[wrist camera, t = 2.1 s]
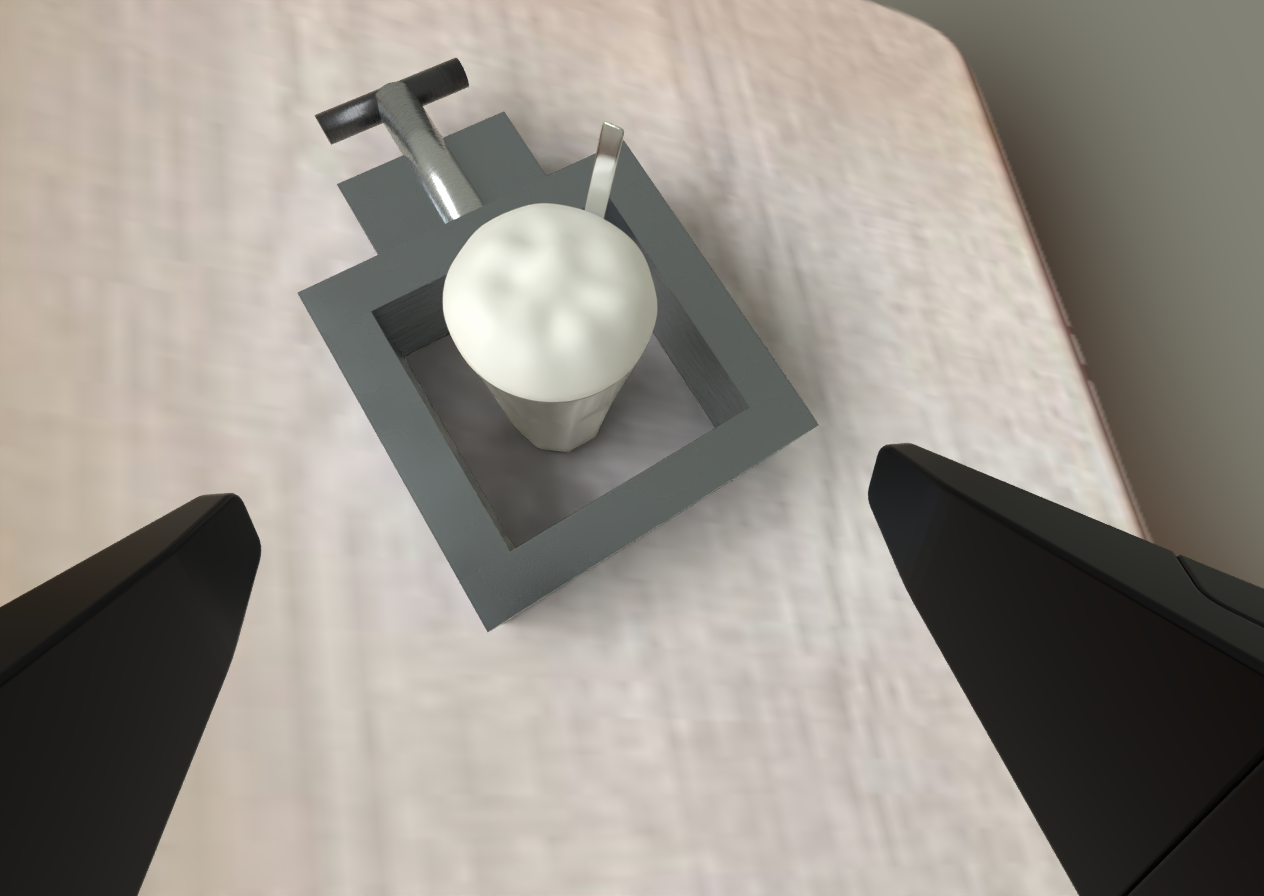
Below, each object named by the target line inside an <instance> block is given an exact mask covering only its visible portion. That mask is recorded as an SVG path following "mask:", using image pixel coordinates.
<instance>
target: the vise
mask: <svg viewBox="0 0 1264 896" xmlns="http://www.w3.org/2000/svg"><path fill="white" fill-rule="evenodd" d="M467 87H469V83H468V79H467V76H466V73H465V71H464V69H463V67H462V65H461V63H460V61H459V60H458V59H457V58H454V59H451V60H449V61H446V62H444V63H441V64H439V65H436V66H434V67H432V68H429V69H427V70H424V71H422V72H419V73H417V74H414V75H412V76H410V77H407V78H405V79H402V80H400V81H397V82H392V83H388V84H386V85H384V86H383V87H382V88H380V89H378V90H375V91H373V92H370V93H368V94H365V95H363V96H361V97H358V98H356V99H353V100H351V101H348V102H346V103H343V104H341V105H339V106H336V107H334V108H331V109H329V110H326V111H324V112H321V113H319V114H316V115H315V117H316V119H317V121H318V123H319V124H320V126H321V128H322V130H323V131H324V133H325V135H326V137H327V138H328V140H329V142H330V143H331V145H332V144H334V143H337V142H339V141H341V140H344V139H346V138H348V137H351V136H353V135H356V134H358V133H360V132H363V131H365V130H367V129H370V128H372V127H375V126H377V125H379V124H382V123H384V125H385V127H386V128H387V130H388V131H389V133H390V135H391V136H392V138H393V140H394V141H395V143H396V144H397V146H398V148H399V149H400V151H401V153H402V154H403V156H401V157H399V158H396V159H394V160H392V161H389V162H387V163H385V164H382V165H380V166H378V167H376V168H373V169H371V170H369V171H366V172H364V173H362V174H360V175H357V176H355V177H353V178H350V179H348V180H346V181H343V182H341V183H339V184H337V185H338V187H339V189H340V191H341V192H342V194H343V196H344V197H345V199H346V201H347V203H348V204H349V206H350V208H351V209H352V211H353V213H354V215H355V216H356V218H357V220H358V221H359V223H360V225H361V227H362V228H363V230H364V232H365V233H366V235H367V237H368V239H369V240H370V242H371V244H372V245H373V247H374V249H375V250H376V252H377V254H378V255H377V256H375V257H373V258H371V259H369V260H367V261H364V262H362V263H360V264H358V265H356V266H354V267H352V268H349V269H347V270H345V271H343V272H341V273H339V274H337V275H335V276H332V277H330V278H328V279H326V280H324V281H322V282H320V283H317V284H315V285H313V286H311V287H309V288H307V289H305V290H302V291H300V292H298V295H299V296H300V298H301V300H302V302H303V304H304V305H305V307H306V309H307V311H308V312H309V314H310V316H311V318H312V320H313V321H314V323H315V325H316V327H317V328H318V330H319V332H320V334H321V336H322V337H323V339H324V341H325V343H326V345H327V346H328V348H329V350H330V352H331V353H332V355H333V357H334V359H335V361H336V362H337V364H338V366H339V368H340V370H341V371H342V373H343V375H344V377H345V378H346V380H347V382H348V384H349V386H350V387H351V389H352V391H353V393H354V395H355V396H356V398H357V400H358V402H359V403H360V405H361V407H362V409H363V411H364V412H365V414H366V416H367V418H368V419H369V421H370V423H371V425H372V427H373V428H374V430H375V432H376V434H377V436H378V437H379V439H380V441H381V443H382V444H383V446H384V448H385V450H386V452H387V453H388V455H389V457H390V459H391V461H392V462H393V464H394V466H395V468H396V469H397V471H398V473H399V475H400V477H401V478H402V480H403V482H404V484H405V485H406V487H407V489H408V491H409V493H410V494H411V496H412V498H413V500H414V502H415V503H416V505H417V507H418V509H419V510H420V512H421V514H422V516H423V518H424V519H425V521H426V523H427V525H428V527H429V528H430V530H431V532H432V534H433V535H434V537H435V539H436V541H437V543H438V544H439V546H440V548H441V550H442V552H443V553H444V555H445V557H446V559H447V560H448V562H449V564H450V566H451V568H452V569H453V571H454V573H455V575H456V576H457V578H458V580H459V582H460V584H461V585H462V587H463V589H464V591H465V593H466V594H467V596H468V598H469V600H470V601H471V603H472V605H473V607H474V609H475V610H476V612H477V614H478V616H479V618H480V619H481V621H482V623H483V625H484V626H485V628H486V630H487V632H489V631H491V630H493V629H494V628H496V627H498V626H500V625H502V624H504V623H505V622H507V621H508V620H510V619H512V618H513V617H515V616H516V615H518V614H520V613H521V612H523V611H524V610H526V609H528V608H529V607H531V606H532V605H534V604H536V603H537V602H539V601H540V600H542V599H544V598H545V597H547V596H548V595H550V594H552V593H553V592H555V591H556V590H558V589H560V588H561V587H563V586H564V585H566V584H568V583H569V582H571V581H572V580H574V579H575V578H577V577H579V576H580V575H582V574H583V573H585V572H587V571H588V570H590V569H591V568H593V567H595V566H596V565H598V564H599V563H601V562H603V561H604V560H606V559H607V558H609V557H611V556H612V555H614V554H615V553H617V552H619V551H620V550H622V549H623V548H625V547H627V546H628V545H630V544H631V543H633V542H635V541H636V540H638V539H639V538H641V537H642V536H644V535H646V534H647V533H649V532H650V531H652V530H654V529H655V528H657V527H658V526H660V525H662V524H663V523H665V522H666V521H668V520H670V519H671V518H673V517H674V516H676V515H678V514H679V513H681V512H682V511H684V510H686V509H687V508H689V507H690V506H692V505H694V504H695V503H697V502H698V501H700V500H702V499H703V498H705V497H706V496H708V495H709V494H711V493H713V492H714V491H716V490H717V489H719V488H721V487H722V486H724V485H725V484H727V483H729V482H730V481H732V480H733V479H735V478H737V477H738V476H740V475H741V474H743V473H745V472H746V471H748V470H749V469H751V468H753V467H754V466H756V465H757V464H759V463H761V462H762V461H764V460H765V459H767V458H769V457H770V456H772V455H773V454H775V453H776V452H778V451H780V450H781V449H783V448H784V447H786V446H787V445H789V444H790V443H792V442H793V441H795V440H796V439H798V438H799V437H801V436H802V435H804V434H806V433H807V432H809V431H810V430H812V429H813V428H815V427H816V426H818V425H819V424H818V423H817V421H816V420H815V419H814V417H813V416H812V414H811V413H810V411H809V410H808V408H807V407H806V405H805V404H804V403H803V401H802V400H801V398H800V397H799V395H798V394H797V392H796V391H795V389H794V388H793V386H792V385H791V384H790V382H789V381H788V379H787V378H786V376H785V375H784V373H783V372H782V370H781V369H780V368H779V366H778V365H777V363H776V362H775V360H774V359H773V357H772V356H771V354H770V353H769V351H768V350H767V349H766V347H765V346H764V344H763V343H762V341H761V340H760V338H759V337H758V335H757V334H756V333H755V331H754V330H753V328H752V327H751V325H750V324H749V322H748V321H747V319H746V318H745V316H744V315H743V314H742V312H741V311H740V309H739V308H738V306H737V305H736V303H735V302H734V300H733V299H732V298H731V296H730V295H729V293H728V292H727V290H726V289H725V287H724V286H723V284H722V283H721V281H720V280H719V279H718V277H717V276H716V274H715V273H714V271H713V270H712V268H711V267H710V265H709V264H708V263H707V261H706V260H705V258H704V257H703V255H702V254H701V252H700V251H699V249H698V248H697V246H696V245H695V244H694V242H693V241H692V239H691V238H690V236H689V235H688V233H687V232H686V230H685V229H684V228H683V226H682V225H681V223H680V222H679V220H678V219H677V217H676V216H675V214H674V213H673V211H672V210H671V209H670V207H669V206H668V204H667V203H666V201H665V200H664V198H663V197H662V195H661V194H660V192H659V191H658V190H657V188H656V187H655V185H654V184H653V182H652V181H651V179H650V178H649V176H648V175H647V174H646V172H645V171H644V169H643V168H642V166H641V165H640V163H639V162H638V160H637V159H636V157H635V156H634V155H633V153H632V152H631V150H630V149H629V147H628V146H627V144H626V143H625V141H624V140H623V141H622V145H621V149H620V153H619V157H618V162H617V166H616V170H615V174H614V178H613V182H612V187H611V191H610V195H609V199H608V203H607V208H606V212H605V216H604V219H605V220H606V221H608V222H610V223H611V224H613V225H614V226H616V227H617V228H619V229H620V230H621V231H623V232H624V233H625V234H626V235H628V236H629V237H630V238H631V239H632V240H633V241H634V242H635V244H636V245H637V246H638V247H639V249H640V250H641V252H642V254H643V255H644V257H645V259H646V262H647V264H648V267H649V270H650V273H651V276H652V280H653V283H654V287H655V291H656V297H657V317H656V322H655V326H654V329H653V333H654V334H655V336H656V337H657V339H658V340H659V342H660V344H661V345H662V347H663V348H664V350H665V351H666V353H667V354H668V356H669V357H670V359H671V360H672V362H673V363H674V365H675V366H676V368H677V369H678V371H679V372H680V374H681V376H682V377H683V379H684V380H685V382H686V383H687V385H688V386H689V388H690V389H691V391H692V392H693V394H694V395H695V397H696V398H697V400H698V401H699V403H700V404H701V406H702V408H703V409H704V411H705V412H706V414H707V415H708V417H709V418H710V420H711V421H712V423H713V424H714V426H715V427H716V428H715V429H713V430H711V431H710V432H708V433H706V434H705V435H703V436H701V437H700V438H698V439H696V440H695V441H693V442H691V443H690V444H688V445H686V446H685V447H683V448H681V449H680V450H678V451H677V452H675V453H673V454H672V455H670V456H668V457H667V458H665V459H663V460H662V461H660V462H658V463H657V464H655V465H653V466H652V467H650V468H648V469H647V470H645V471H643V472H642V473H640V474H638V475H637V476H635V477H633V478H632V479H630V480H628V481H627V482H625V483H623V484H622V485H620V486H618V487H617V488H615V489H613V490H612V491H610V492H608V493H607V494H605V495H603V496H602V497H600V498H598V499H597V500H595V501H593V502H592V503H590V504H588V505H587V506H585V507H583V508H582V509H580V510H578V511H577V512H575V513H573V514H572V515H570V516H568V517H567V518H565V519H563V520H562V521H560V522H558V523H557V524H555V525H553V526H552V527H550V528H548V529H547V530H545V531H543V532H542V533H540V534H538V535H537V536H535V537H534V538H532V539H530V540H529V541H527V542H525V543H524V544H522V545H520V546H519V547H517V548H515V547H514V546H513V544H512V542H511V541H510V539H509V537H508V535H507V534H506V532H505V530H504V528H503V527H502V525H501V523H500V522H499V520H498V518H497V516H496V515H495V513H494V511H493V510H492V508H491V506H490V504H489V503H488V501H487V499H486V497H485V496H484V494H483V492H482V491H481V489H480V487H479V485H478V484H477V482H476V480H475V479H474V477H473V475H472V473H471V472H470V470H469V468H468V466H467V465H466V463H465V461H464V460H463V458H462V456H461V454H460V453H459V451H458V449H457V448H456V446H455V444H454V442H453V441H452V439H451V437H450V435H449V434H448V432H447V430H446V429H445V427H444V425H443V423H442V422H441V420H440V418H439V417H438V415H437V413H436V411H435V410H434V408H433V406H432V404H431V403H430V401H429V399H428V398H427V396H426V394H425V392H424V391H423V389H422V387H421V386H420V384H419V382H418V380H417V379H416V377H415V375H414V373H413V372H412V370H411V368H410V367H409V365H408V363H407V361H406V360H405V358H404V356H406V355H408V354H410V353H412V352H414V351H416V350H418V349H420V348H422V347H424V346H426V345H428V344H429V343H431V342H433V341H435V340H437V339H439V338H441V337H443V336H445V335H447V334H449V333H450V332H449V330H448V327H447V324H446V321H445V317H444V312H443V290H444V284H445V280H446V276H447V274H448V271H449V269H450V267H451V265H452V263H453V261H454V260H455V258H456V256H457V255H458V253H459V252H460V250H461V249H462V248H463V246H464V245H465V243H466V242H467V241H468V239H469V238H470V237H471V236H472V235H473V233H474V232H475V231H476V230H478V229H479V228H480V227H481V226H483V225H484V224H485V223H487V222H489V221H490V220H492V219H494V218H496V217H498V216H500V215H502V214H504V213H506V212H509V211H511V210H514V209H517V208H520V207H523V206H527V205H531V204H539V203H551V204H559V205H565V206H570V207H574V208H578V209H581V210H585V205H586V201H587V196H588V191H589V186H590V181H591V177H592V172H593V167H594V162H595V157H596V154H593V155H591V156H589V157H587V158H585V159H583V160H581V161H578V162H576V163H574V164H572V165H570V166H568V167H566V168H563V169H561V170H559V171H557V172H555V173H553V174H551V175H548V176H546V175H545V173H544V172H543V170H542V169H541V167H540V165H539V164H538V162H537V161H536V159H535V158H534V156H533V155H532V153H531V152H530V150H529V149H528V147H527V146H526V144H525V143H524V141H523V139H522V138H521V136H520V135H519V133H518V132H517V130H516V129H515V127H514V126H513V124H512V123H511V121H510V120H509V118H508V117H507V115H506V114H505V112H502V113H500V114H497V115H495V116H493V117H490V118H488V119H486V120H483V121H481V122H479V123H477V124H474V125H472V126H470V127H467V128H465V129H463V130H460V131H458V132H456V133H454V134H451V135H449V136H447V137H444V138H442V136H441V134H440V133H439V131H438V130H437V128H436V127H435V125H434V123H433V122H432V120H431V119H430V117H429V115H428V114H427V112H426V111H425V109H424V108H423V106H424V105H427V104H429V103H432V102H434V101H436V100H439V99H441V98H443V97H446V96H448V95H451V94H453V93H455V92H458V91H460V90H462V89H465V88H467Z"/></svg>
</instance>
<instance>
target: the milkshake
mask: <svg viewBox="0 0 1264 896" xmlns="http://www.w3.org/2000/svg"><path fill="white" fill-rule="evenodd" d="M623 136H624V130H623V129H622V128H620V127H618V126H616V125H614V124H611V123H609V122H606V121H605V122H604V123H603V125H602V129H601V134H600V138H599V143H598V148H597V153H596V157H595V162H594V167H593V172H592V177H591V181H590V186H589V191H588V196H587V201H586V205H585V210H581V209H578V208H574V207H570V206H565V205H559V204H551V203H539V204H531V205H527V206H523V207H520V208H517V209H514V210H511V211H509V212H506V213H504V214H502V215H500V216H498V217H496V218H494V219H492V220H490V221H489V222H487V223H485V224H484V225H483V226H481V227H480V228H479V229H478V230H476V231H475V232H474V233H473V235H472V236H471V237H470V238H469V239H468V241H467V242H466V243H465V245H464V246H463V248H462V249H461V250H460V252H459V253H458V255H457V256H456V258H455V260H454V261H453V263H452V265H451V267H450V269H449V271H448V274H447V276H446V280H445V284H444V290H443V312H444V317H445V321H446V324H447V327H448V330H449V332H450V335H451V337H452V339H453V341H454V343H455V345H456V346H457V348H458V350H459V352H460V353H461V355H462V356H463V358H464V359H465V360H466V362H467V363H468V364H469V365H470V367H471V368H472V369H473V370H474V372H475V373H476V374H477V375H478V377H479V378H480V379H481V380H482V381H483V383H484V384H485V385H486V386H487V387H488V389H489V390H490V391H491V393H492V394H493V396H494V397H495V399H496V400H497V402H498V403H499V405H500V406H501V407H502V409H503V410H504V412H505V413H506V415H507V416H508V418H509V419H510V421H511V422H512V424H513V425H514V426H515V428H516V429H517V430H518V431H519V432H521V433H522V434H523V435H524V436H525V437H526V438H527V439H528V440H530V441H531V442H532V443H533V444H534V445H535V446H536V447H537V448H538V449H546V450H555V451H564V452H570V451H572V450H573V449H575V448H577V447H579V446H581V445H582V444H584V443H586V442H588V441H590V440H592V439H593V438H595V437H596V435H597V433H598V431H599V428H600V426H601V424H602V422H603V420H604V418H605V416H606V414H607V412H608V410H609V408H610V406H611V404H612V402H613V400H614V398H615V397H616V395H617V394H618V392H619V390H620V389H621V387H622V386H623V384H624V383H625V381H626V379H627V378H628V376H629V375H630V373H631V371H632V370H633V368H634V366H635V365H636V363H637V362H638V360H639V358H640V357H641V355H642V354H643V352H644V350H645V348H646V346H647V344H648V342H649V340H650V337H651V335H652V332H653V329H654V326H655V322H656V317H657V297H656V291H655V287H654V283H653V280H652V276H651V273H650V270H649V267H648V264H647V262H646V259H645V257H644V255H643V254H642V252H641V250H640V249H639V247H638V246H637V245H636V244H635V242H634V241H633V240H632V239H631V238H630V237H629V236H628V235H626V234H625V233H624V232H623V231H621V230H620V229H619V228H617V227H616V226H614V225H613V224H611V223H610V222H608V221H606V220H605V219H604V216H605V212H606V208H607V203H608V199H609V195H610V191H611V187H612V182H613V178H614V174H615V170H616V166H617V162H618V157H619V153H620V149H621V145H622V140H623Z"/></svg>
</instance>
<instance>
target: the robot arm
mask: <svg viewBox="0 0 1264 896" xmlns="http://www.w3.org/2000/svg"><path fill="white" fill-rule="evenodd" d="M868 500H869V504H870V507H871V509H872V512H873V514H874V516H875V519H876V521H877V523H878V526H879V528H880V530H881V533H882V535H883V537H884V540H885V542H886V544H887V547H888V549H889V551H890V554H891V556H892V558H893V561H894V563H895V565H896V568H897V570H898V572H899V575H900V577H901V579H902V581H903V583H904V585H905V588H906V590H907V592H908V593H909V595H910V597H911V599H912V601H913V603H914V605H915V606H916V608H917V610H918V612H919V614H920V615H921V617H922V619H923V621H924V622H925V624H926V626H927V628H928V629H929V631H930V633H931V635H932V637H933V638H934V640H935V642H936V644H937V645H938V647H939V649H940V651H941V652H942V654H943V656H944V658H945V660H946V661H947V663H948V665H949V667H950V668H951V670H952V672H953V674H954V675H955V677H956V679H957V681H958V683H959V684H960V686H961V688H962V690H963V691H964V693H965V695H966V697H967V698H968V700H969V702H970V704H971V706H972V707H973V709H974V711H975V713H976V714H977V716H978V718H979V720H980V721H981V723H982V725H983V727H984V729H985V730H986V732H987V734H988V736H989V737H990V739H991V741H992V743H993V744H994V746H995V748H996V750H997V752H998V753H999V755H1000V757H1001V759H1002V760H1003V762H1004V764H1005V766H1006V767H1007V769H1008V771H1009V773H1010V775H1011V776H1012V778H1013V780H1014V782H1015V783H1016V785H1017V787H1018V789H1019V790H1020V792H1021V794H1022V796H1023V798H1024V799H1025V801H1026V803H1027V805H1028V806H1029V808H1030V810H1031V812H1032V813H1033V815H1034V817H1035V819H1036V821H1037V822H1038V824H1039V826H1040V828H1041V829H1042V831H1043V833H1044V835H1045V836H1046V838H1047V840H1048V842H1049V844H1050V845H1051V847H1052V849H1053V851H1054V852H1055V854H1056V856H1057V858H1058V859H1059V861H1060V863H1061V865H1062V867H1063V868H1064V870H1065V872H1066V874H1067V875H1068V877H1069V879H1070V881H1071V882H1072V884H1073V886H1074V888H1075V890H1076V891H1077V893H1078V895H1079V896H1264V589H1263V588H1261V587H1258V586H1255V585H1253V584H1251V583H1248V582H1246V581H1244V580H1241V579H1239V578H1236V577H1234V576H1231V575H1229V574H1226V573H1223V572H1221V571H1219V570H1216V569H1214V568H1211V567H1209V566H1206V565H1204V564H1202V563H1199V562H1197V561H1194V560H1192V559H1190V558H1187V557H1185V556H1182V555H1177V556H1175V554H1174V553H1173V552H1172V551H1170V550H1168V549H1165V548H1163V547H1160V546H1158V545H1155V544H1153V543H1151V542H1148V541H1146V540H1143V539H1141V538H1139V537H1136V536H1134V535H1131V534H1129V533H1127V532H1124V531H1122V530H1119V529H1117V528H1114V527H1112V526H1110V525H1107V524H1105V523H1102V522H1100V521H1098V520H1095V519H1093V518H1090V517H1088V516H1085V515H1083V514H1081V513H1078V512H1076V511H1073V510H1071V509H1069V508H1066V507H1064V506H1061V505H1059V504H1057V503H1054V502H1052V501H1049V500H1047V499H1044V498H1042V497H1040V496H1037V495H1035V494H1032V493H1030V492H1028V491H1025V490H1023V489H1020V488H1018V487H1015V486H1013V485H1011V484H1008V483H1006V482H1003V481H1001V480H999V479H996V478H994V477H991V476H989V475H987V474H984V473H982V472H979V471H977V470H974V469H972V468H970V467H967V466H965V465H962V464H960V463H958V462H955V461H953V460H950V459H948V458H946V457H943V456H941V455H938V454H936V453H933V452H931V451H929V450H926V449H924V448H921V447H919V446H917V445H914V444H911V443H902V444H889V445H885V446H883V447H882V448H881V449H880V451H879V453H878V455H877V459H876V463H875V466H874V470H873V474H872V478H871V481H870V485H869V490H868ZM260 557H261V544H260V540H259V537H258V535H257V532H256V530H255V528H254V525H253V523H252V521H251V518H250V516H249V514H248V511H247V509H246V507H245V505H244V503H243V501H242V499H241V498H240V497H239V496H238V495H236V494H233V493H224V494H210V495H202V496H199V497H197V498H195V499H193V500H191V501H190V502H188V503H186V504H184V505H182V506H181V507H179V508H177V509H175V510H174V511H172V512H170V513H168V514H166V515H165V516H163V517H161V518H159V519H157V520H156V521H154V522H152V523H150V524H148V525H147V526H145V527H143V528H141V529H140V530H138V531H136V532H134V533H132V534H131V535H129V536H127V537H125V538H123V539H122V540H120V541H118V542H116V543H114V544H113V545H111V546H109V547H107V548H105V549H104V550H102V551H100V552H98V553H97V554H95V555H93V556H91V557H89V558H88V559H86V560H84V561H82V562H80V563H79V564H77V565H75V566H73V567H71V568H70V569H68V570H66V571H64V572H63V573H61V574H59V575H57V576H55V577H54V578H52V579H50V580H48V581H46V582H45V583H43V584H41V585H39V586H37V587H36V588H34V589H32V590H30V591H28V592H27V593H25V594H23V595H21V596H20V597H18V598H16V599H14V600H12V601H11V602H9V603H7V604H5V605H3V606H2V607H0V896H138V893H139V891H140V888H141V886H142V883H143V881H144V878H145V876H146V873H147V871H148V868H149V866H150V863H151V861H152V858H153V856H154V854H155V851H156V849H157V846H158V844H159V841H160V839H161V836H162V834H163V831H164V829H165V826H166V824H167V821H168V819H169V816H170V814H171V811H172V809H173V806H174V804H175V801H176V799H177V796H178V794H179V791H180V789H181V787H182V784H183V782H184V779H185V777H186V774H187V772H188V769H189V767H190V764H191V762H192V759H193V757H194V754H195V752H196V749H197V747H198V744H199V742H200V739H201V737H202V734H203V732H204V729H205V727H206V724H207V722H208V720H209V717H210V715H211V712H212V710H213V707H214V705H215V702H216V700H217V697H218V695H219V692H220V690H221V687H222V685H223V682H224V680H225V677H226V675H227V672H228V669H229V667H230V664H231V661H232V659H233V655H234V652H235V649H236V646H237V643H238V639H239V635H240V632H241V628H242V624H243V621H244V617H245V613H246V609H247V606H248V602H249V598H250V595H251V591H252V587H253V584H254V580H255V576H256V573H257V569H258V565H259V562H260Z"/></svg>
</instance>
